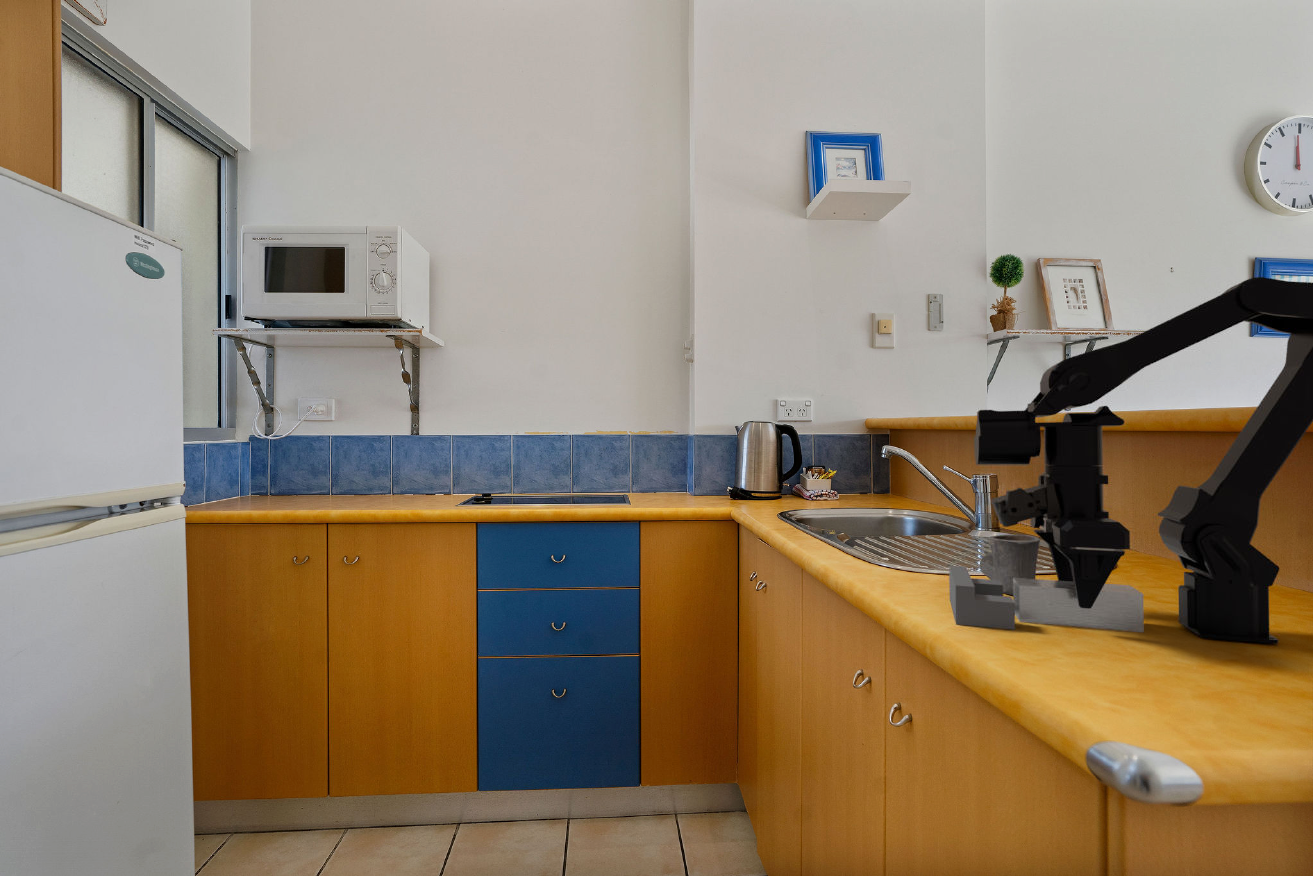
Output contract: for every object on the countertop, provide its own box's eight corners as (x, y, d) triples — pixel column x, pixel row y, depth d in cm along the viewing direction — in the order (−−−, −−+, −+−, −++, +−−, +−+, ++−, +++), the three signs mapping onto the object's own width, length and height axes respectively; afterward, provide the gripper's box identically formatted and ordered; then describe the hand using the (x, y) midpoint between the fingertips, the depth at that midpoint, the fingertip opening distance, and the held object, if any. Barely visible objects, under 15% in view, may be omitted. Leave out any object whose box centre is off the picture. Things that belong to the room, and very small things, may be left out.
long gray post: (1130, 623, 74) (1129, 585, 74) (1143, 634, 69) (1143, 594, 69) (1013, 613, 78) (1013, 577, 78) (1019, 623, 74) (1019, 585, 74)
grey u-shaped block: (1000, 603, 82) (999, 568, 82) (1015, 629, 71) (1014, 589, 71) (949, 599, 84) (949, 565, 85) (955, 624, 73) (955, 585, 73)
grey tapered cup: (1008, 580, 96) (1007, 528, 96) (1052, 601, 83) (1051, 541, 83) (966, 580, 97) (966, 527, 97) (1004, 600, 84) (1003, 540, 84)
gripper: (987, 462, 86) (988, 577, 85) (1006, 468, 68) (1008, 612, 68) (1083, 463, 81) (1085, 583, 81) (1130, 468, 64) (1132, 622, 64)
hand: (1074, 598), depth 74 cm, fingers open, 9 cm apart
